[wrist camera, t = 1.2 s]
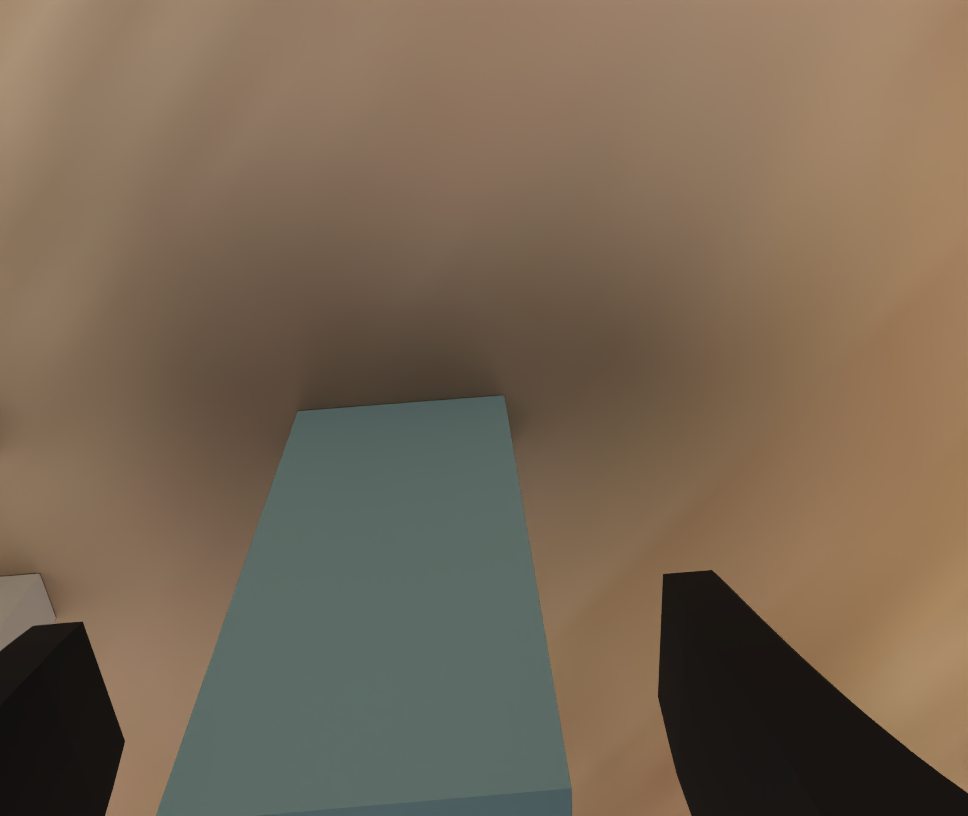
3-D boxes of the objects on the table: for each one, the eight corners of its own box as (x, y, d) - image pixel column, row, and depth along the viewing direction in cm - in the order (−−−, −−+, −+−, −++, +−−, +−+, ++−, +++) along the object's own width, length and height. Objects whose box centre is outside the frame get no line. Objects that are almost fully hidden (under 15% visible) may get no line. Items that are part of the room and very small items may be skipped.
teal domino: (507, 449, 17) (572, 869, 8) (307, 465, 16) (181, 903, 8) (504, 395, 16) (571, 788, 8) (297, 410, 16) (152, 824, 8)
